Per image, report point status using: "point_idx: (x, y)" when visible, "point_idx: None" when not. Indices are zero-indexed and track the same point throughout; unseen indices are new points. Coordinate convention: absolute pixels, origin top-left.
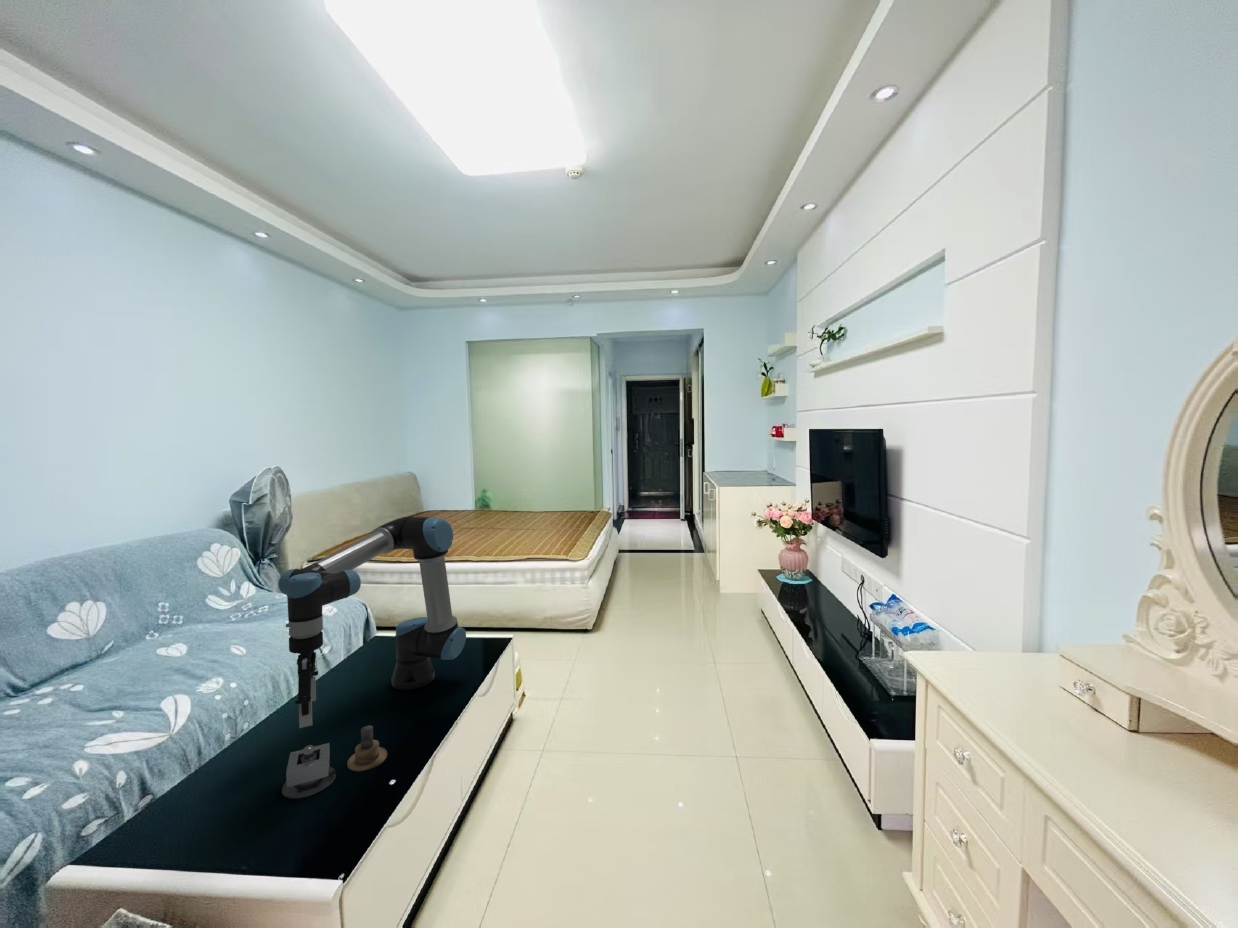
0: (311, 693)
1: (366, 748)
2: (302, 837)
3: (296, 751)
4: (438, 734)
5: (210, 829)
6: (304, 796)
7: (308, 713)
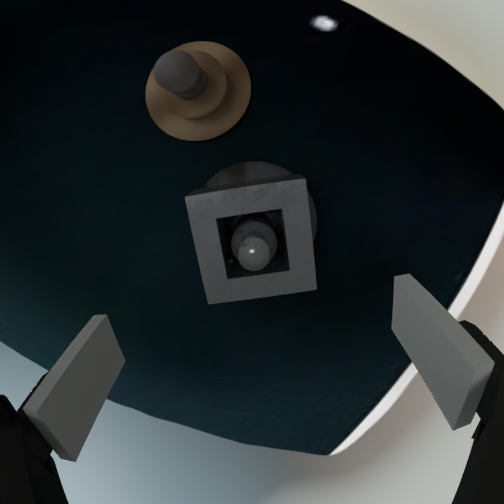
0: (95, 360)
1: (206, 80)
2: (439, 198)
3: (206, 288)
4: None
5: (334, 363)
6: (316, 221)
7: (467, 323)
